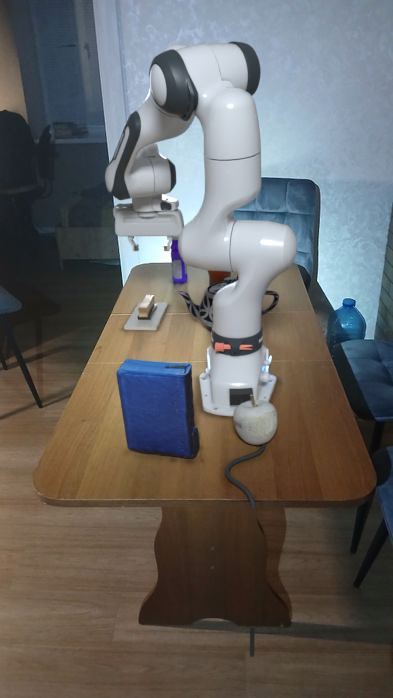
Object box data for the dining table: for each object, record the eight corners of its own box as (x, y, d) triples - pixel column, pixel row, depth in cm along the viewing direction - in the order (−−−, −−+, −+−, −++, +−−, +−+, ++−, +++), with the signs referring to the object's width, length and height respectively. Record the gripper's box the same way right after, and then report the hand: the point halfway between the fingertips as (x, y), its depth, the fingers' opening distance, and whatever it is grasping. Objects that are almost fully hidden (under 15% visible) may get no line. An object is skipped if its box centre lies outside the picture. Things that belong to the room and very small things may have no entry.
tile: (156, 330, 151) (156, 327, 151) (124, 329, 152) (123, 326, 152) (168, 305, 169) (168, 302, 168) (139, 304, 170) (139, 301, 170)
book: (201, 447, 101) (197, 359, 91) (195, 464, 96) (190, 373, 87) (134, 438, 104) (123, 353, 95) (125, 455, 99) (112, 367, 90)
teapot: (177, 315, 160) (174, 270, 153) (273, 311, 160) (274, 265, 153) (175, 342, 143) (172, 292, 136) (283, 337, 143) (285, 287, 136)
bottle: (171, 278, 193) (168, 233, 185) (186, 277, 193) (184, 232, 185) (173, 284, 186) (169, 238, 178) (188, 283, 187) (185, 237, 179)
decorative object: (266, 458, 97) (267, 415, 92) (226, 445, 101) (225, 403, 96) (283, 433, 103) (285, 392, 99) (245, 422, 107) (245, 382, 103)
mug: (212, 301, 170) (211, 272, 165) (204, 293, 177) (203, 265, 172) (245, 296, 173) (245, 267, 168) (235, 288, 180) (235, 260, 176)
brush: (149, 320, 155) (148, 308, 153) (137, 320, 156) (136, 307, 154) (157, 306, 165) (156, 294, 163) (145, 306, 165) (144, 294, 163)
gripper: (109, 205, 142) (114, 253, 148) (180, 204, 139) (183, 253, 145) (115, 201, 147) (120, 248, 153) (184, 200, 145) (186, 247, 151)
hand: (151, 250), depth 149 cm, fingers open, 8 cm apart
